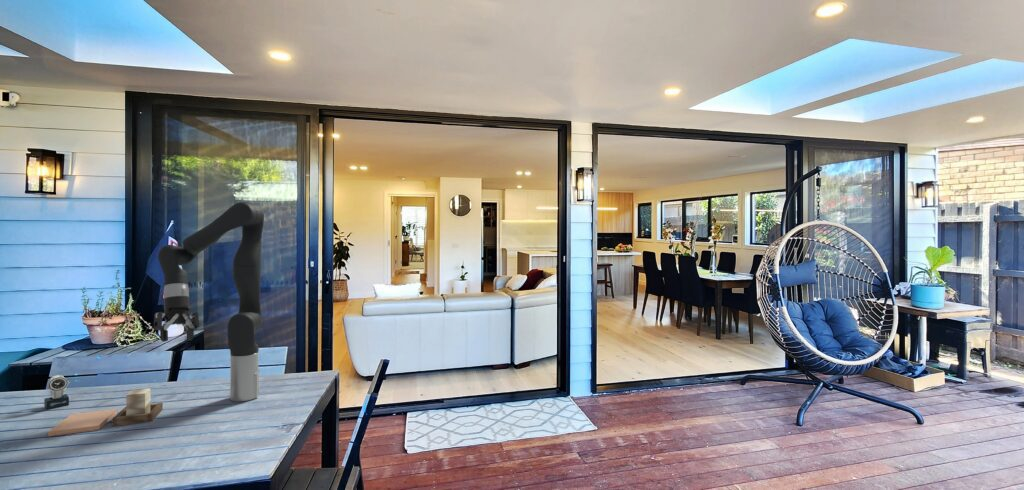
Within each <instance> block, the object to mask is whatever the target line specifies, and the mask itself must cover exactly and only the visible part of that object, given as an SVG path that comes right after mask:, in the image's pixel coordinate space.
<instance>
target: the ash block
mask: <svg viewBox="0 0 1024 490" xmlns="http://www.w3.org/2000/svg"><path fill="white" fill-rule="evenodd" d="M125 395H126V397H125V404H126V405H125V407H126V416H129V415H137V414H145V413H150V404H151V388H140V389H132V390H130V391H129V392H128V393H127V394H125Z"/></svg>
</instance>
